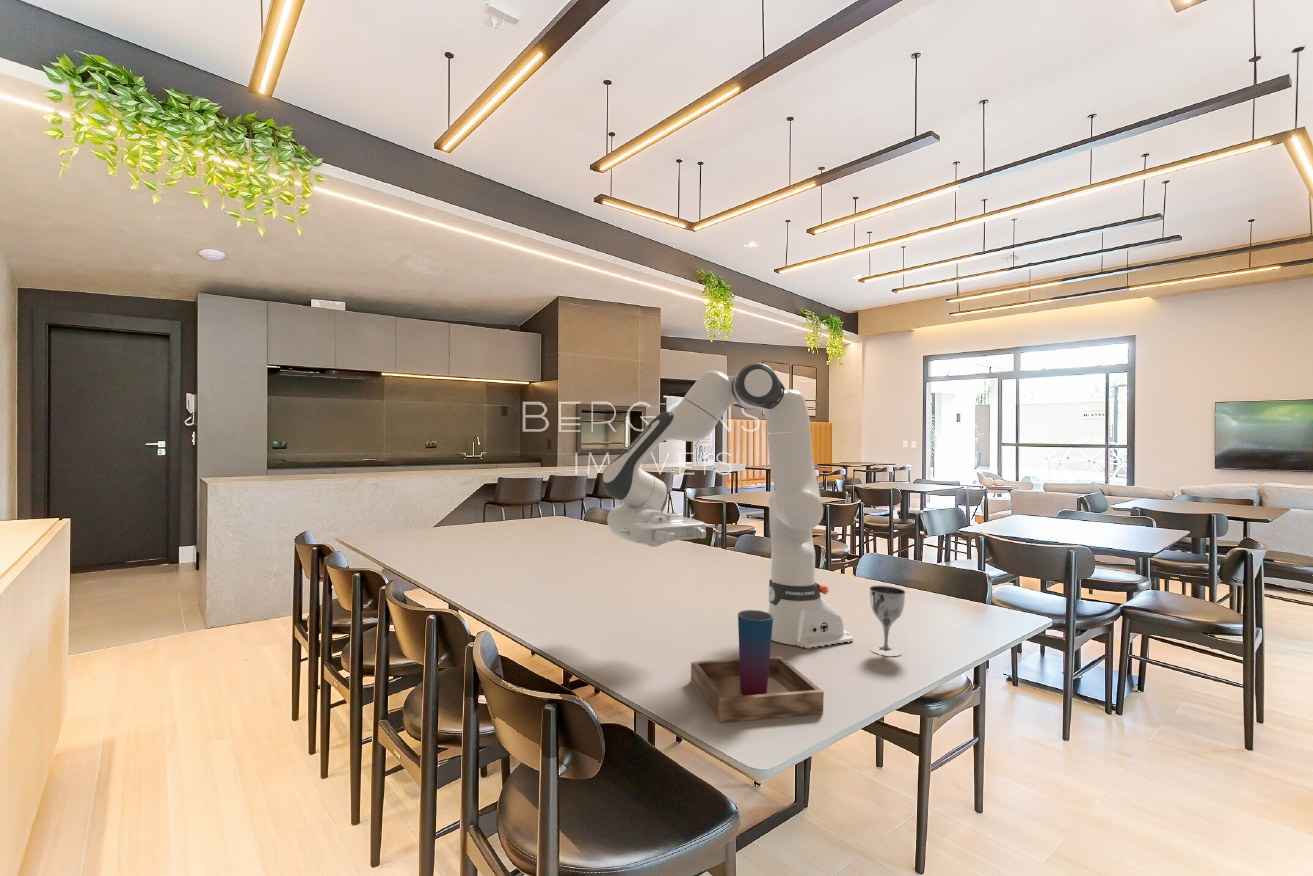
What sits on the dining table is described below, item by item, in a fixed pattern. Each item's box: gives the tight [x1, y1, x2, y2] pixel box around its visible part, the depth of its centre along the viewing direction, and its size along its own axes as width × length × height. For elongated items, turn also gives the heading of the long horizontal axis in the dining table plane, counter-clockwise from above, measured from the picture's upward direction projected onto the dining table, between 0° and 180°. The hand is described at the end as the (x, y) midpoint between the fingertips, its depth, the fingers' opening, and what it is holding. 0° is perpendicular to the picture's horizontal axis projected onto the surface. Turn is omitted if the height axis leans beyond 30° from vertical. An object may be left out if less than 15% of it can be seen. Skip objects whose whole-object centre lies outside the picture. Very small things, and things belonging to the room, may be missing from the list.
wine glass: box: [869, 585, 906, 651], centre depth 140 cm, size 8×8×15 cm
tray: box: [690, 656, 825, 724], centre depth 113 cm, size 20×18×4 cm
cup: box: [737, 609, 773, 695], centre depth 113 cm, size 7×7×15 cm
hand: (688, 536), depth 132 cm, fingers open, 8 cm apart
